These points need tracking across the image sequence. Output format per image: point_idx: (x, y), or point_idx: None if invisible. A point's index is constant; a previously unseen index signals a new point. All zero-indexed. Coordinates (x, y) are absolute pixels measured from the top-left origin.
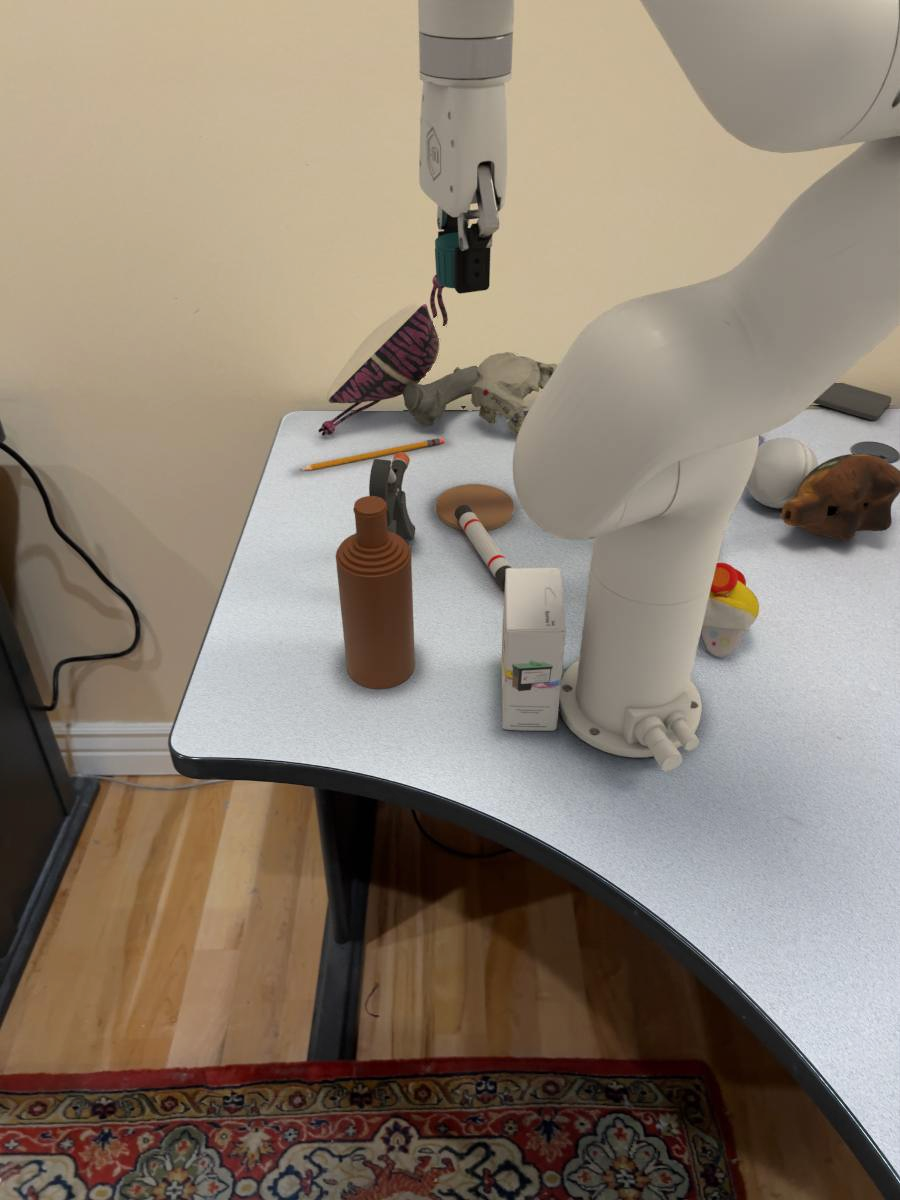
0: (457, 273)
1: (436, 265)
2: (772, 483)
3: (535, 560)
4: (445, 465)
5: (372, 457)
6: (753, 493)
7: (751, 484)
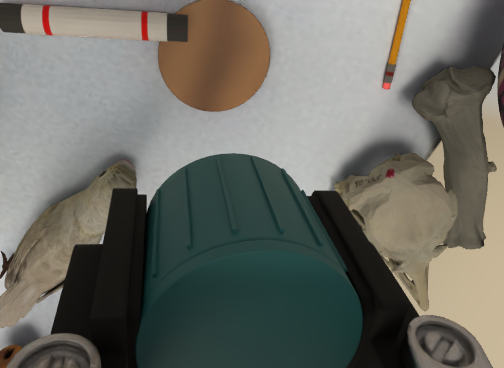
0: (105, 235)
1: (261, 186)
2: None
3: (69, 80)
4: (333, 65)
5: None
6: None
7: None
